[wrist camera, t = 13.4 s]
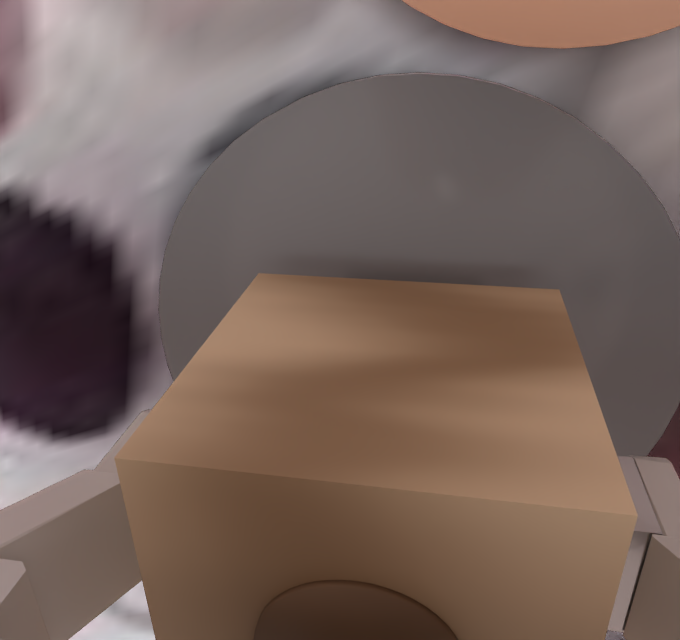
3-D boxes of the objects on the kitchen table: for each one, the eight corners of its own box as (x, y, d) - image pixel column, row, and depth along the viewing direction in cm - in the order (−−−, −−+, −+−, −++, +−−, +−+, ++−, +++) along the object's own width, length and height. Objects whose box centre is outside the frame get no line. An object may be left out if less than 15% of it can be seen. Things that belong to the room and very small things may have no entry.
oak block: (559, 289, 10) (640, 524, 5) (522, 522, 12) (558, 826, 8) (258, 272, 11) (108, 463, 6) (276, 494, 13) (176, 752, 8)
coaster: (757, 71, 10) (773, 74, 9) (627, 555, 15) (632, 576, 14) (132, 72, 12) (117, 75, 11) (200, 504, 17) (191, 520, 16)
